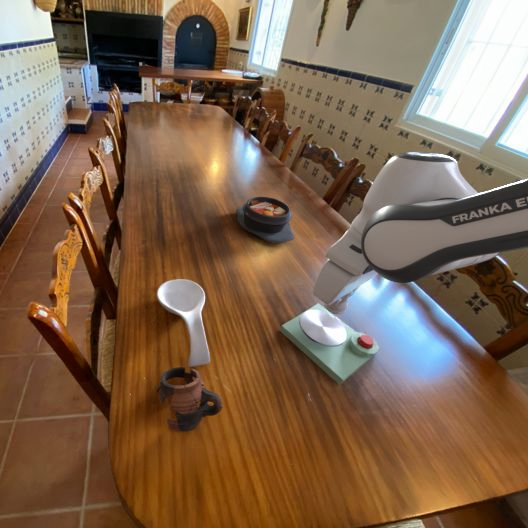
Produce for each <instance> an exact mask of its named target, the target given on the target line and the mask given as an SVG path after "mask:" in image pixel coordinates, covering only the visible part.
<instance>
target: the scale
mask: <svg viewBox="0 0 528 528" xmlns="http://www.w3.org/2000/svg"><path fill="white" fill-rule="evenodd" d="M309 310H319V311H323V312H326V313H328V314H330V315H332V316H333V317H335V318H336V319H337V320H339V321H340V322H341V324H342V325H343V326H344V328H345V330H346V339H345V341H344V342H343V343H342V344H341V345H339V346H336V347H326V346H322V345H319V344H317V343H315V342H313V341H312V340H310V339H309V338H308V337H307V336H306V335H305V334H304V333H303V332H302V330H301V328H300V325H299V319H300V317H301V315H302V314H303V313H304V312H306V311H309ZM279 332H281V334H283V335H284V336H285V337H286V339H288V340H289V341H290V342H291V343H292V344H293V345H295V347H297V348H298V349H299V350H300V351H302V353H303V354H305V355H306V356H307V358H309V359H310V360H311V361H312V362H313V363H314V364H316V365H317V366H318V368H320V369H321V370H322V371H324V373H325V374H327V376H329V378H330V379H332V380H333V381H334V382H336V383H337V384H338V385H339V386H341V385H342V383H344V382H345V381H346V380H348V378H350V377H351V376H352V375H353V374H354V373H355V372H357V371H358V370H359V369H360V368H361V367H362V366H363V365H365V364H366V363H367V362H368V361H369V360H371V359H372V358H374V357H375V356H376V354H377V353H378V352H379V351H380V347H379V344H378V343H377V341H376V340H375V339H374V338H373V337H371V338H372V339H373V341H374V343H373V345H372V346H371V347H370V348H368V349H366V348H363V347H362V346H360V345H359V343H358V339H359V338H360V337H361V336H362V335H368V334H367V333H364V332H357V331H356V330H355V329H353V328H352V327H350V326H349V325H348V324H347V323H345V322H344V321H342V320H341V319H340V318H339V317H337V315H335V314H333V313H331V312H329V311H328V310H327V309H326V308H325V306H323V305H322V304H320V303H316V304H315V305H313V306H311V307H310V308H308V309H306V310H305V311H303V312H301V313H299V314H298V315H297V316H295V317H293V318H292V319H289V320H288V321H287V322H285V323H284V324H282V325H281V327H280V328H279ZM368 336H370V335H368Z"/></svg>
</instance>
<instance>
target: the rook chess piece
mask: <svg viewBox="0 0 528 528" xmlns="http://www.w3.org/2000/svg"><path fill="white" fill-rule="evenodd" d="M352 292H353V291H351V292H349V293H348V294H346V295H345V296H343V297H341V298H342V300H341V302H340V303H339V304H338V305H336V306H335V307H334V306H332V305H327V304H325V303H324V302H323V307H324V308H325V309H326V310H328V311H329V312H330V313H332V314H333V315H343V314H345V313H346V311H347V310H348V307H349V305H348V299H349V298H350V297H349V295H350V294H351V293H352ZM348 297H349V298H348Z"/></svg>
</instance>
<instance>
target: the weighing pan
mask: <svg viewBox="0 0 528 528" xmlns="http://www.w3.org/2000/svg"><path fill="white" fill-rule="evenodd" d="M305 311H306V310H305ZM305 311H303V312H304V313H303V312H302V313H303V314H302V315H301V317H300V319H299V325H300V328H301V330H302V332H303V333H304V334H305V335H306V336H307V337H308V338H309V339H310V340H312V341H313V342H315V343H317V344H319V345H322V346H326V347H336V346H339V345H341V344H342V343H343V342H344V341H345V339H346V330H345V328H344V326H343V325H342V324H341V322H340V321H339V320H337V319H336V318H335V317H333V316H332V315H330V314H328V313H326V312H323V311H319V310H309V311H306V312H305Z"/></svg>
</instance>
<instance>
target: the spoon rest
mask: <svg viewBox="0 0 528 528" xmlns="http://www.w3.org/2000/svg"><path fill="white" fill-rule="evenodd" d="M156 297H157V300H158V302H159V304H160V305H161V306H162V307H163V308H164V310H166V311H167V312H169V313H171V314H173V315H177V316H179V317H180V318H181V319H182V320H183V321H184V323H185V325H186V327H187V331H188V336H189V343H190V344H189V345H190V352H189V357H188V362H187V367H190V368H192V367H198V366H204V365H209V364H210V363H211V355H210V350H209V345H208V341H207V335H206V331H205V327H204V322H203V317H202V311H203V308H204V306H205V303H206V293H205V291H204V289H203V288H202V286H201V285H199V284H198V283H197V282H196V281H195V282H194V281H193V280H190V279H183V278H178V279H171V280H168V281H165V282H163V283H162V284H161V285H160V286H159V287H158V288H157V291H156Z"/></svg>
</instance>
